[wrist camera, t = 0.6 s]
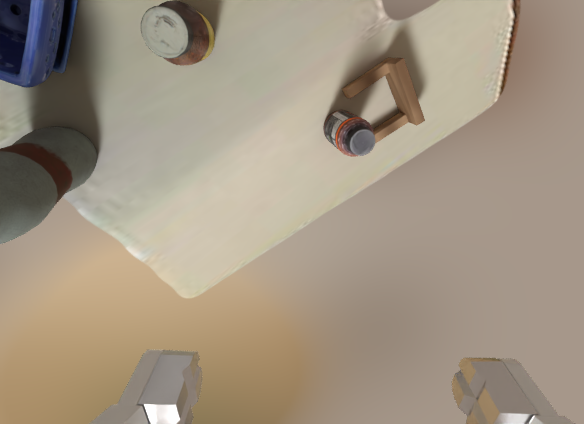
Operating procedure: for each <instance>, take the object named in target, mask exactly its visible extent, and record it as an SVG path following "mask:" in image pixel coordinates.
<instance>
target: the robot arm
mask: <svg viewBox="0 0 584 424" xmlns="http://www.w3.org/2000/svg"><path fill="white" fill-rule="evenodd" d="M198 361H199V355H198V352H196V351H173V350H147V351H146V352H145V353H144V354H143V355H142V357H141V359H140V361H139V363H138V365H137V367H136V369H135V371H134V373H133V375H132V377H131V379H130V381H129V382H128V384H127V386H126V388H125V390H124V392H123V394H122V396H121V398H120V400H119V402H118V404H117V405H111V406H110V407H109V408H107V409H106V410H105V411H104V412H103V413H101V414H100V415H99V416H98V417H97V418H95V419H94V420H93V421H92V422H91V423H90V424H191V423H192V420H193V413H192V409H191V408H192V407H193V406H194V405H195V404H196V403H197V401H198V399H199V395H200V391H201V385H202V370H201V367H199V366H198ZM459 367H460V369H461V370H460V371H459V372H457V373H456V374H455V375H454V377H453V379H452V392H453V395H454V399H455V401H456V403H457V406H458V408H459V409H460V410H461V411H463V412H464V413H465V414H466V415H467V420H466V424H575V423H573V422H572V421H571V420H569V419H568V418H566V417H565V416H559V415H558V414H557V412H556V411H555V410H554V408H553V407H552V405H551V404H550V403H549V401H548V400H547V399H546V397H545V396H544V395H543V393H542V392H541V390H540V389H539V388H538V386H537V385H536V384H535V382H534V381H533V380H532V378H531V377H530V376H529V374H528V373H527V371H526V370H525V369H524V367H523V366H522V365H521V363H520V362H518V361H517V360H515V359H496V358H463V359H461V360H460V362H459Z"/></svg>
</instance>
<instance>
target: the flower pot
mask: <svg viewBox="0 0 584 424" xmlns="http://www.w3.org/2000/svg"><path fill="white" fill-rule="evenodd" d="M77 3H78V0H0V80H3V81H6V82H9V83H12V84H15V85H18V86H22V87H33V86H36V85H39V84H41V83H42V82H44V81H45V80H46V79H47V78H48V77H49V75H50V74H51V72H52V71H55V72H58V73H64V72H65V69H66V65H67V60H68V55H69V50H70V45H71V39H72V34H73V28H74V21H75V15H76V10H77Z"/></svg>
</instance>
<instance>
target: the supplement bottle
mask: <svg viewBox="0 0 584 424" xmlns="http://www.w3.org/2000/svg"><path fill="white" fill-rule="evenodd" d="M324 134H325V136H326V138H327V139H328V141H329V142H331V143H332V144H333V145H334V146H335V147H336V148H338V149H339V150H340V151H341V152H342V153H344V154H345V155H348V156H363V155H366V154H368V153H369V152H370V151H371V150H372V149H373V147H374V145H375V135H374V131H373V128H372V126H371V125H370V123H369V122H367V121H366V120H364V119H362V118H360V117H358V116H356V115H354V114H352V113H350V112H347V111H343V110H339V111H335V112H333V113H332V114H330V115H329V116H328V118H327V119H326V121H325V124H324Z"/></svg>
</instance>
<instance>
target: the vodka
mask: <svg viewBox="0 0 584 424" xmlns="http://www.w3.org/2000/svg"><path fill="white" fill-rule="evenodd" d="M96 163H97V152H96V150H95V147H94V145H93V144H92V142H91V141H90V140H89V139H88V138H87V137H86V136H84V135H83V134H82V133H80V132H78V131H76V130H73V129H71V128H64V127H50V128H44V129H38V130H34V131H32V132H30V133H28V134H27V135H25V136H23V137H22V138H21V139H19V140H18V141H16V142H15V143H14V144H13V145H11V146H8V147H5V148H1V149H0V244H1V243H5V242H8V241H10V240H13V239H15V238H17V237H19V236H21V235H23V234H25V233H26V232H28V231H29V230H31V229H32V228H34V227H35V226H37V225H39V224H40V223H41V222H42V220H44V218H45V217H46V216H47V215H48V213H49V212H50V211H51V210H52V208H53V207H54V206H55V204H56V203H57V202H58V201H59V200H60V199H61V198H62V196H63V195H64V194H65V193H67V192H69V191H71V190H73V189H75V188H76V187H78V186H80V185H82V184H83V183H85V181H86V180H87V179H88V178H89V177H90V176H91V174H92V172H93V171H94V169H95V166H96Z"/></svg>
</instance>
